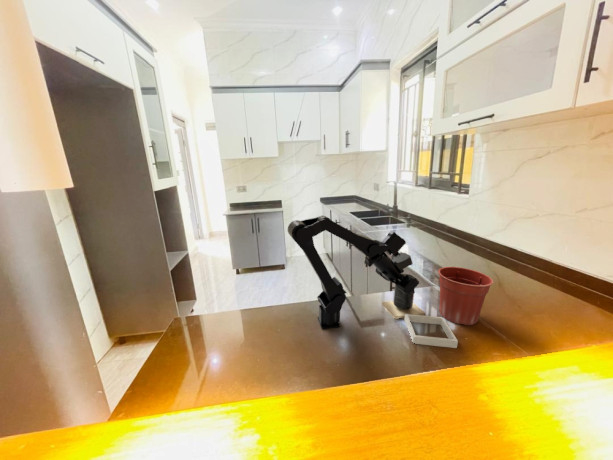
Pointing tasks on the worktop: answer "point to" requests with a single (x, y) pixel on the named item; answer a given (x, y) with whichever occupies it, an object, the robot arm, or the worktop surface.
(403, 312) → the birch board
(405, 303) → the supplement bottle
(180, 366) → the worktop surface
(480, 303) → the flower pot
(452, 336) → the frame
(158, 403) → the worktop surface
